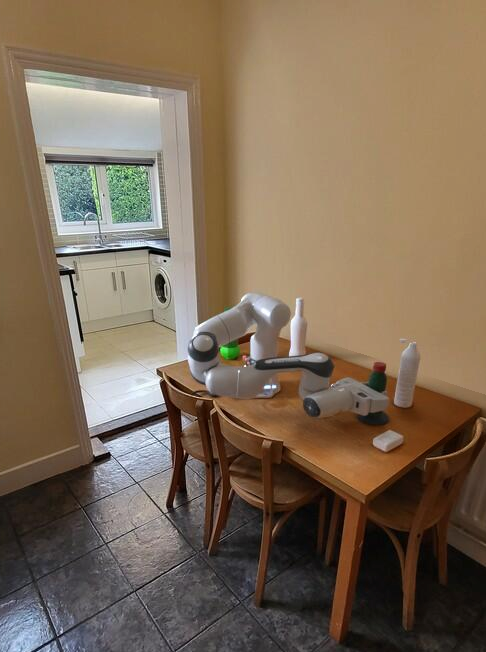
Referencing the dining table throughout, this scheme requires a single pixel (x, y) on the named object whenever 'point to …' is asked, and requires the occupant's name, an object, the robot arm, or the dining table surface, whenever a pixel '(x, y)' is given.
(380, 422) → the coaster
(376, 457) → the dining table surface
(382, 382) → the green bottle
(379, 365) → the cap
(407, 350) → the water bottle
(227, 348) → the plastic bottle
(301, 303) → the bottle
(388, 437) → the soap
